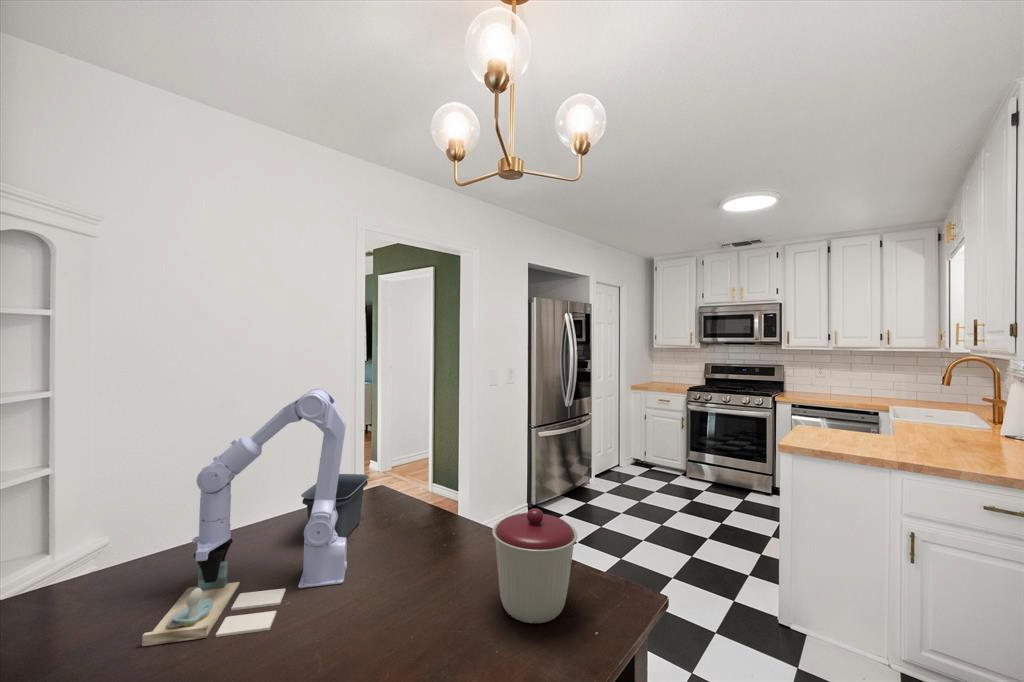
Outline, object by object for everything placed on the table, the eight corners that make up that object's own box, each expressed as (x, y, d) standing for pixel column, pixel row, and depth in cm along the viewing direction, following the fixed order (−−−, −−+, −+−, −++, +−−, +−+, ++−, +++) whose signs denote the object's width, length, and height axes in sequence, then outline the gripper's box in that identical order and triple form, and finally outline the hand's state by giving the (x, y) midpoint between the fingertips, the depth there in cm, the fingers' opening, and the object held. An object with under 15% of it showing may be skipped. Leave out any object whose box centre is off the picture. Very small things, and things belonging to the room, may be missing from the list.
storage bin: (345, 551, 117) (347, 497, 117) (287, 550, 117) (289, 496, 117) (370, 520, 138) (372, 474, 138) (321, 519, 138) (322, 473, 138)
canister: (582, 595, 99) (584, 501, 100) (565, 646, 82) (568, 532, 82) (506, 579, 105) (509, 490, 105) (476, 623, 88) (479, 517, 88)
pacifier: (157, 630, 83) (185, 634, 82) (158, 597, 83) (185, 599, 82) (192, 608, 90) (217, 610, 89) (192, 577, 90) (218, 579, 89)
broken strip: (285, 590, 98) (285, 588, 98) (269, 630, 84) (269, 627, 84) (239, 595, 95) (239, 593, 95) (215, 637, 82) (215, 634, 82)
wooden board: (239, 583, 100) (240, 559, 100) (206, 637, 81) (207, 608, 82) (188, 589, 97) (189, 564, 97) (142, 646, 79) (143, 615, 79)
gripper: (207, 506, 104) (205, 564, 103) (179, 531, 90) (176, 599, 89) (241, 504, 105) (239, 561, 105) (218, 528, 92) (216, 594, 91)
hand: (212, 578), depth 97 cm, fingers closed on wooden board, 2 cm apart
